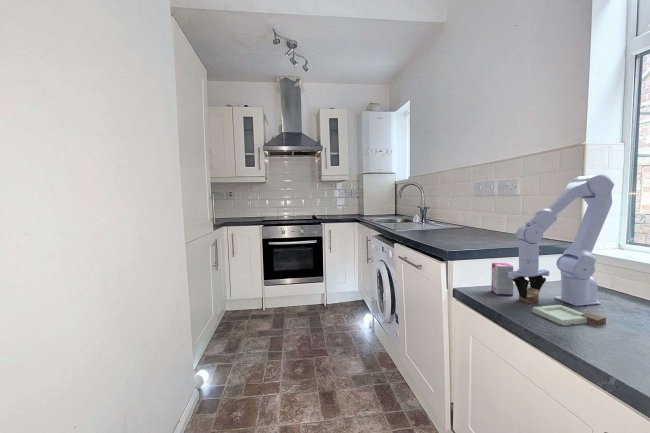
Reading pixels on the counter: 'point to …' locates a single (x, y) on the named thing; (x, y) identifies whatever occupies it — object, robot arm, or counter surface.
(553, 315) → the base plate
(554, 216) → the robot arm
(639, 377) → the counter surface
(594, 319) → the walnut brick
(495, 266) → the supplement box
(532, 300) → the tan cube
